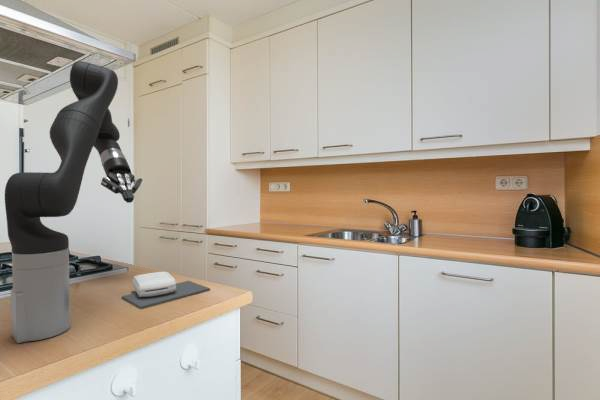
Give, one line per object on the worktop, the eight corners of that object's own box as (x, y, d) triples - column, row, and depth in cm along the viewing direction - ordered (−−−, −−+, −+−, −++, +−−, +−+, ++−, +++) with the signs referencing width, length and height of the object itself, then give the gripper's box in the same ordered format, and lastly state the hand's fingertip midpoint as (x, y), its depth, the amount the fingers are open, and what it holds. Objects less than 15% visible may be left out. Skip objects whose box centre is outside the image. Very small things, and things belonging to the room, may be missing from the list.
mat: (140, 309, 81) (140, 306, 81) (121, 298, 89) (121, 296, 89) (210, 290, 96) (210, 288, 96) (188, 282, 104) (188, 280, 104)
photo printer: (168, 269, 101) (178, 278, 90) (169, 283, 101) (178, 294, 91) (131, 274, 95) (137, 285, 85) (132, 289, 95) (137, 301, 85)
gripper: (96, 154, 105) (110, 192, 98) (138, 157, 115) (154, 192, 107) (91, 171, 109) (104, 209, 101) (132, 173, 119) (147, 207, 111)
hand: (130, 200), depth 104 cm, fingers closed
